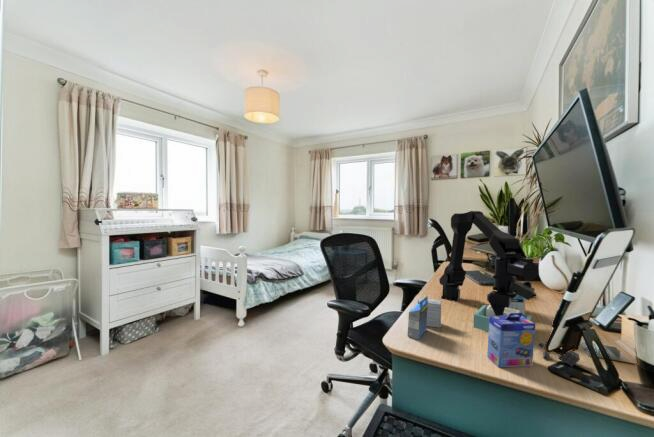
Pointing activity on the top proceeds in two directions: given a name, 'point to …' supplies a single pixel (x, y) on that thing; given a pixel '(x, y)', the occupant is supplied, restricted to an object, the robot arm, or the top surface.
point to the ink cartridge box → (511, 340)
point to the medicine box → (433, 312)
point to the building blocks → (562, 356)
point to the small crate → (506, 312)
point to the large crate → (487, 319)
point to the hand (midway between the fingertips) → (502, 316)
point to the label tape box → (418, 319)
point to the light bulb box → (518, 303)
